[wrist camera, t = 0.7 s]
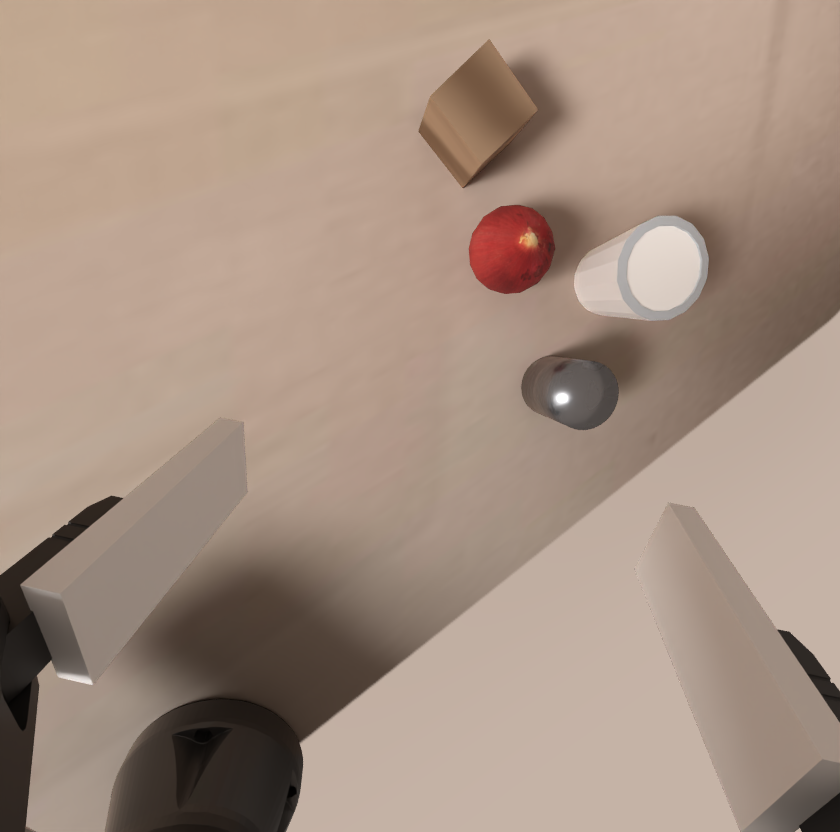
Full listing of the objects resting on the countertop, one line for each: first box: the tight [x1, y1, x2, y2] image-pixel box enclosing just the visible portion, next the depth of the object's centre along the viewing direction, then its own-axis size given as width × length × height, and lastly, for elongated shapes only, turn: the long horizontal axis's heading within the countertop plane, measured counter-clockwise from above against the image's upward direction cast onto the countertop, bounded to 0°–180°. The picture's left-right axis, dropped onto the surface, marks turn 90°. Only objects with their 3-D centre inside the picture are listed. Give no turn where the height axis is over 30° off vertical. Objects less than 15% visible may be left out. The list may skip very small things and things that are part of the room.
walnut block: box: [419, 39, 538, 188], centre depth 30 cm, size 5×5×5 cm
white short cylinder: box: [574, 216, 709, 321], centre depth 33 cm, size 7×7×7 cm
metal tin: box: [521, 356, 619, 430], centre depth 34 cm, size 5×5×6 cm
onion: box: [469, 205, 555, 294], centre depth 30 cm, size 6×6×8 cm
